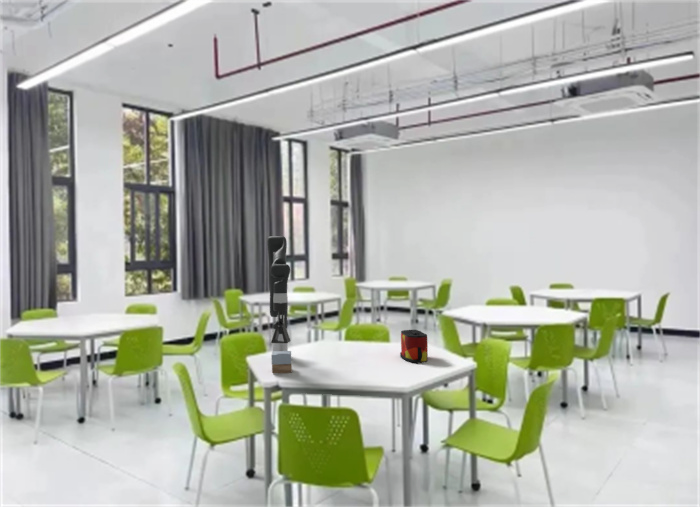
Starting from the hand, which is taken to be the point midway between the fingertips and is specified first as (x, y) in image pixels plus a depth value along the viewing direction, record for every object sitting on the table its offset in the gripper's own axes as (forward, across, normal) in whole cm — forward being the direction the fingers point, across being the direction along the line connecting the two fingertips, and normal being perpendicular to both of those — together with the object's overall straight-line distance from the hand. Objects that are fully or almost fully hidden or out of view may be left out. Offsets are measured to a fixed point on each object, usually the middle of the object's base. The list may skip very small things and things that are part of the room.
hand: (280, 332), depth 277 cm
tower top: (+16, 0, 0) cm, 16 cm away
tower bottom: (+21, 0, 0) cm, 21 cm away
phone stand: (+5, 0, 0) cm, 5 cm away
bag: (+21, -19, +78) cm, 83 cm away
